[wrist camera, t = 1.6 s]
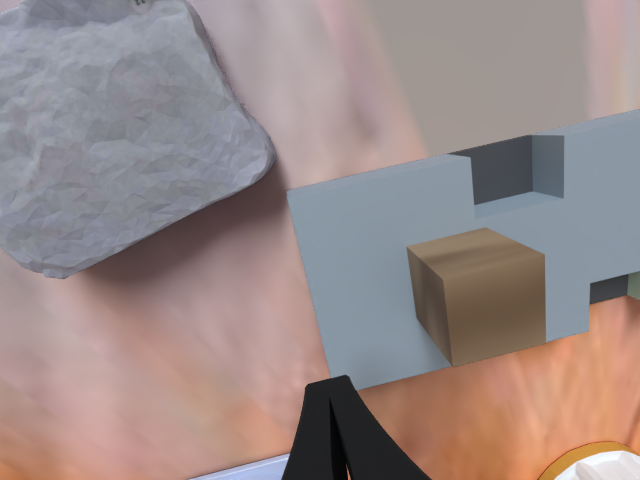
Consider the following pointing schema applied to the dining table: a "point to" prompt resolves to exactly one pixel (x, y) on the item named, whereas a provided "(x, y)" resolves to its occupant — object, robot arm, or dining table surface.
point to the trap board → (462, 216)
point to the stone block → (113, 128)
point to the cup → (596, 463)
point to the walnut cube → (479, 294)
